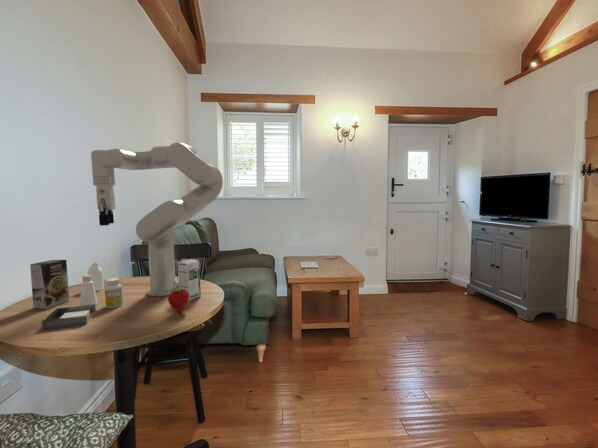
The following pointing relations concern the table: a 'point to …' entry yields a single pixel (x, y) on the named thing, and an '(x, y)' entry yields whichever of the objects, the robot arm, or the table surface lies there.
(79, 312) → the tile
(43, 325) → the frame
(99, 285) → the white tall lumpy piece
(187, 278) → the syrup box
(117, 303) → the supplement bottle
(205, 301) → the table surface
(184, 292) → the strawberry
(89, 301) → the pepper shaker
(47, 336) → the table surface
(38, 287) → the coffee box
